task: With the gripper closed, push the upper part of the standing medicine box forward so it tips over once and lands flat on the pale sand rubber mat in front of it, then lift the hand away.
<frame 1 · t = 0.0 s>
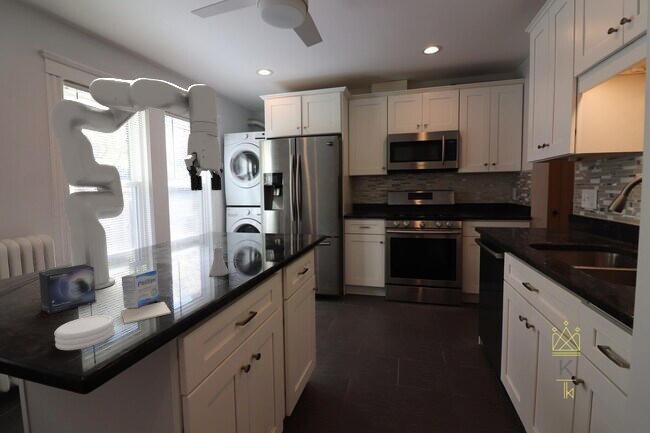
hand: (207, 190, 91), 31 cm above the worktop, tool pointing down, fingers open, 9 cm apart
flask: (219, 274, 116), on the worktop
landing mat: (145, 312, 80), on the worktop
coaster: (86, 340, 66), on the worktop
small box: (70, 306, 86), on the worktop
medicine box: (142, 304, 86), on the worktop, touching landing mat
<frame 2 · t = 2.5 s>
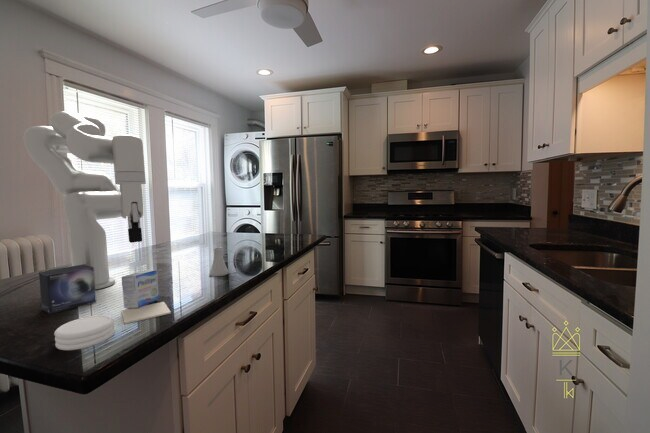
hand: (135, 241, 91), 17 cm above the worktop, tool pointing down, fingers closed
nothing on the worktop moved.
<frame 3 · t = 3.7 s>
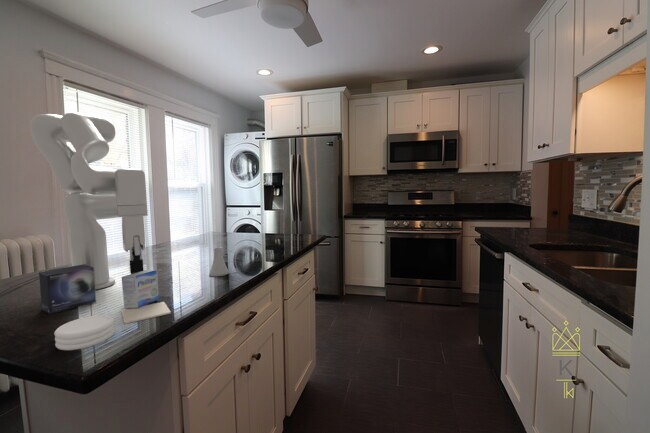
hand: (137, 273, 92), 7 cm above the worktop, tool pointing down, fingers closed
nothing on the worktop moved.
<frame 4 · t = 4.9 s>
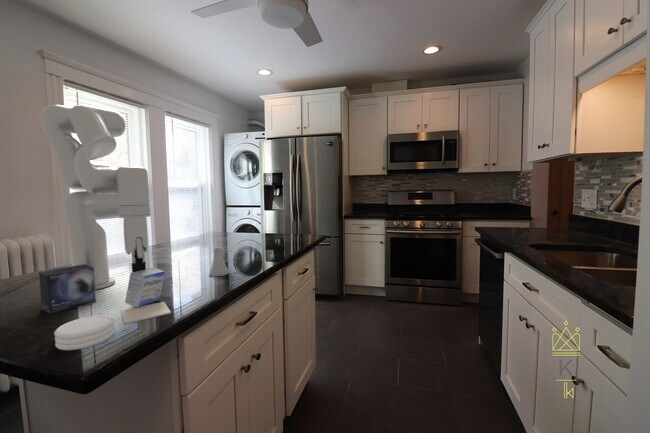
hand: (139, 276, 87), 7 cm above the worktop, tool pointing down, fingers closed
medicine box: (142, 302, 85), point 1 cm above the worktop, touching gripper, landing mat
everything else where it was.
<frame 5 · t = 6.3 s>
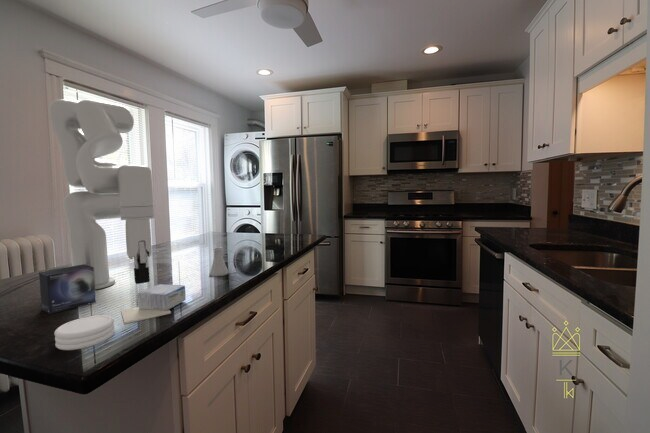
hand: (142, 282, 82), 7 cm above the worktop, tool pointing down, fingers closed
medicine box: (147, 295, 85), point 3 cm above the worktop, touching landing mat
everything else where it was.
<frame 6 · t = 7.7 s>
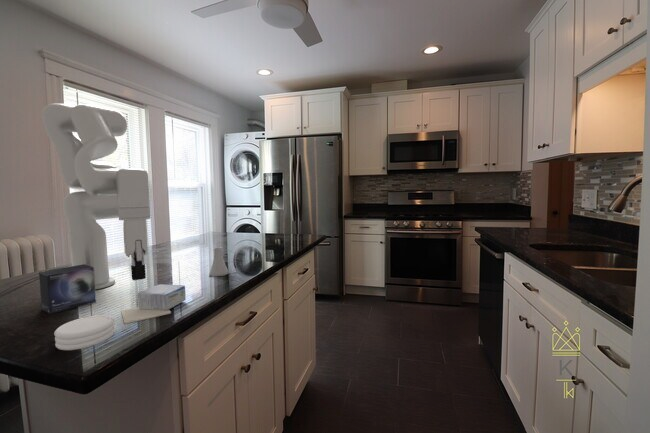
hand: (138, 278, 87), 7 cm above the worktop, tool pointing down, fingers closed
nothing on the worktop moved.
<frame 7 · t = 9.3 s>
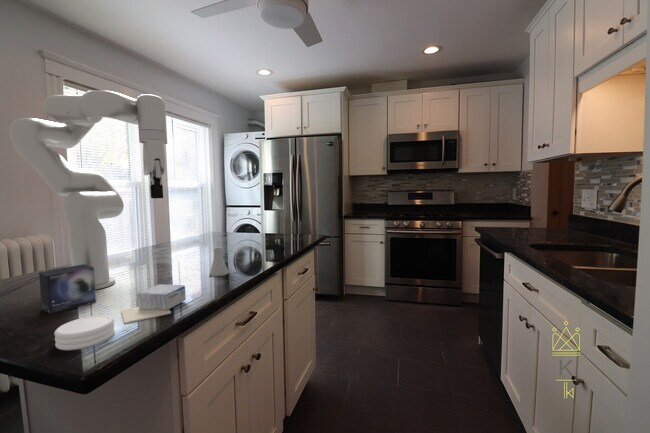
hand: (157, 198, 96), 29 cm above the worktop, tool pointing down, fingers closed
nothing on the worktop moved.
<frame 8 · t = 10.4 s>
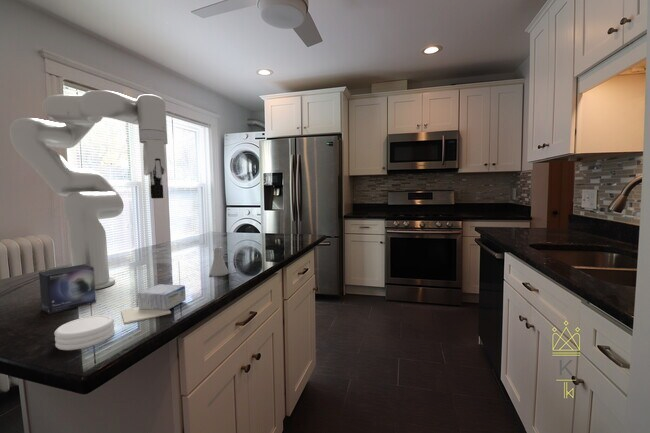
hand: (157, 198, 96), 29 cm above the worktop, tool pointing down, fingers closed
nothing on the worktop moved.
at the end: medicine box tilted 91°; medicine box touching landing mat; the gripper is holding nothing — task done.
